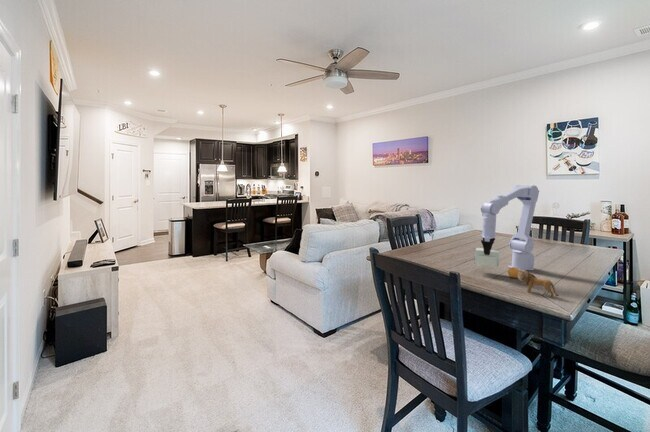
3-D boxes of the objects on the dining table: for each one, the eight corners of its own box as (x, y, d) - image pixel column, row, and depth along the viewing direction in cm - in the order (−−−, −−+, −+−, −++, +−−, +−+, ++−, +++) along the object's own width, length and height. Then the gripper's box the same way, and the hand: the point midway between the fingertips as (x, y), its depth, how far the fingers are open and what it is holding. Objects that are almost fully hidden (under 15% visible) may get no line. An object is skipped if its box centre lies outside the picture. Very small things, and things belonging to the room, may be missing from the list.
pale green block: (474, 263, 156) (475, 250, 155) (476, 259, 163) (476, 247, 162) (497, 266, 151) (498, 252, 150) (498, 262, 157) (499, 249, 156)
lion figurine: (515, 291, 133) (517, 270, 132) (517, 287, 137) (519, 267, 136) (558, 299, 124) (560, 277, 123) (559, 295, 128) (561, 274, 127)
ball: (514, 275, 154) (515, 265, 153) (521, 278, 149) (522, 268, 148) (505, 275, 153) (505, 266, 153) (511, 279, 149) (512, 269, 148)
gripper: (481, 224, 163) (480, 249, 164) (478, 227, 151) (476, 255, 152) (496, 225, 159) (495, 251, 161) (495, 229, 147) (493, 257, 148)
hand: (487, 253), depth 156 cm, fingers closed on pale green block, 6 cm apart
